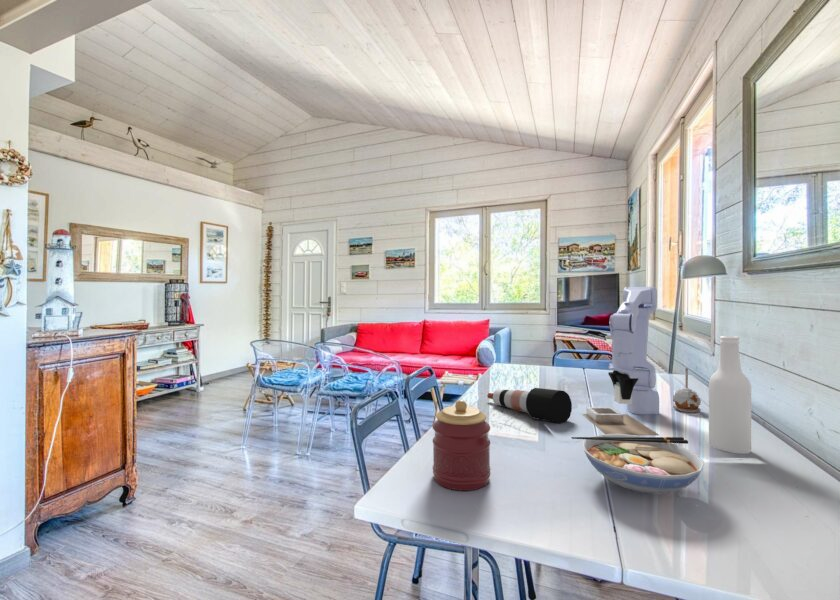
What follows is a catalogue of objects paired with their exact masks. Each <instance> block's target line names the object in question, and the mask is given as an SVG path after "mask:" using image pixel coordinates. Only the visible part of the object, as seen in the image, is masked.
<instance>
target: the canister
mask: <svg viewBox="0 0 840 600" xmlns="http://www.w3.org/2000/svg"><path fill="white" fill-rule="evenodd" d="M435 418H436V419H437V420H435V421H434V422H433V424H432V429H433V431H434V436H433V438H432V446H433V460H432V461H433V463H432V474H433V479H434V480H435V482H436V483H437V484H439V486H441V487H444V488H446V489H450V490H453V491H454V490H455V491H464V492H465V491H474V490H479V489H481V488H483V487H485V486H486V485H488V484H489V482H490V478H491V477H490V476H491V470H492V468H491V463H490V460H491V459H490V453H491V452H490V450H491V449H490V446H491V440H490V439H489V432H490V430H491V426H490V424H489V423H488V422H487V421H486V419H487V414H485V413H484V412H483V411H482V410H480V409H479V408H477V407H475V406H471V405H468V404H467V402H466V401H465V400H464V399H458V400H457V401H456V402H455V405H449V406H446V407H443V409H442V410H439V411H438V412H437V413H435Z"/></svg>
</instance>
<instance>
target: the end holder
mask: <svg viewBox="0 0 840 600" xmlns="http://www.w3.org/2000/svg"><path fill="white" fill-rule="evenodd" d="M585 411H586V412H585V414H586V415H588V416H589V417H590V418H591V419H592V420H594V421H595V422H596V423H623V413H621V412H620V411H618V410H617V409H615V408H614V407H612V406H611V407H610V406H609V407H608V406H607V407H606V406H605V407H603V406H599V407H597V406H593V407H592V406H591V407H590V406H586V410H585Z"/></svg>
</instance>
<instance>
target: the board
mask: <svg viewBox="0 0 840 600" xmlns="http://www.w3.org/2000/svg"><path fill="white" fill-rule="evenodd" d="M622 414H623V413H622ZM581 415H582V416H583V417H584V418H586V419H587V420H588V421H589V422H590V423H591V424H593V426H595V427H596V428H598V429H599V430H600V431H601V432H602V433H603V434H627V435H637V436H660V434H659V433H657V432H656V431H654V430H653V429H651V428H649V427H647V426H646V425H644V423H642V422H640V421H639V420H636V418H634V417H633V416H631V415H629V414H628V413H625V414H623V423H596V422H595V421H594V420H592V419H591V418H590V417H589V416H588V415H586V413H581Z"/></svg>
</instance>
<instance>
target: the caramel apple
mask: <svg viewBox="0 0 840 600" xmlns="http://www.w3.org/2000/svg"><path fill="white" fill-rule="evenodd" d="M688 370H689V369H688V368H687V367H685V387H683V388H679V389H678V390H676V391H675V392H674V394H673V395H672V396H673V398H672V401H673V402H674V404H673V407H672V408H673V409H675V410H677V411H681V412H683V411H685V412H684V413H700V412H701V408H700V405H701V400H702V399H701V397H699V394H698V392H696V391H695V390H693V389H692V388H691V387H690V388H689V386H688V385H689V376H688V375H689V371H688ZM699 411H700V412H699Z"/></svg>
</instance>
